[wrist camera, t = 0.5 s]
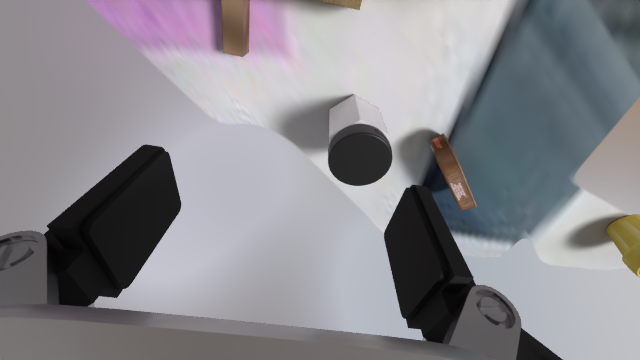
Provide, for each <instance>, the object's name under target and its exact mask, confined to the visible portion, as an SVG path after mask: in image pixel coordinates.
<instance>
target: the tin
mask: <svg viewBox="0 0 640 360" xmlns="http://www.w3.org/2000/svg"><path fill="white" fill-rule="evenodd" d="M429 145H430V147H431V149H432V151H433V153H434V156H435V158H436V160H437V163H438V165H439V167H440V169H441V171H442V174H443V176H444V178H445V180H446V182H447V184H448V187H449V189H450V191H451V193H452V195H453V197H454V199H455V201H456V203H457V205H458V207H459V209H460V210H467V209H470V208H473V207H477V205H476V202H475V200H474V197H473V195H472V193H471V190H470V188H469V186H468V183H467V181H466V178H465V176H464V174H463V171H462V169H461V167H460V165H459V162H458V160H457V158H456V156H455V154H454V152H453V150H452V148H451V146H450V144H449V142H448V140H447V138H446V137H445V135H444V134H442V135H440V136H437V137H435V138H433V139H431V140H429Z"/></svg>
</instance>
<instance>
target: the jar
mask: <svg viewBox="0 0 640 360" xmlns="http://www.w3.org/2000/svg"><path fill="white" fill-rule="evenodd" d="M391 163H392V150H391V146H390V143H389V133H388V130H387V127H386V125H385V122H384V120H383V117H382V114H381V112H380V109H379V107H377V106H375V105H373V104H372V103H370V102H368V101H366V100H364V99H362V98H361V97H359V96H357V95H352V96H351V97H349V98H347V99H346V100H344V101H342V102H341V103H339V104H337V105H336V106H334V107H332V108H331V109H330V110H329V149H328V164H329V168H330V171H331V172H332V174H333V175H334V176H335V177H336V178H337V179H338V180H339V181H341V182H343V183H345V184H349V185H354V186H362V185H368V184H371V183H373V182H376V181H377V180H379V179H380V178H382V177H383V176H384V175H385V174H386V173H387V171H388V170H389V168H390V166H391Z"/></svg>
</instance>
